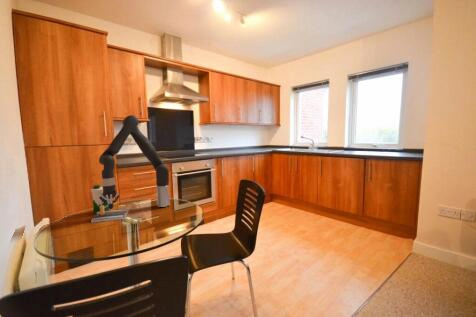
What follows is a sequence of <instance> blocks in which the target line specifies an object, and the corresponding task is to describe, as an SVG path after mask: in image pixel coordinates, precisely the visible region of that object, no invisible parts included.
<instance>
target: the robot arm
mask: <svg viewBox="0 0 476 317" xmlns="http://www.w3.org/2000/svg"><path fill="white" fill-rule="evenodd" d="M139 123H140V122H139V118H138V117H137V116H136V115H133V114H131V115H128V116H126V117H124V118H123V120H122V127H121V128H120V130H119V132H118V133H117V134H116V136H115V137H114V138H113V139H112V140H111V142H110V144H109V145H108V146H107V148H106V149H105V150H104V152H102V153H101V155H100V156H99V158H98V162H99V163H100V165H101V166H103V170H101V184H102V186H101V187H103V194H102V196H100V197H99V199H101V200H102V201H103V202H104V203H105V204H106V203H107V204H108V208H109V210H113V208H114V204H115V203H116V202H117V200H118V199H119V198H120V197H121V194H120V193H118V192H117V188H116V179H115V172H114V171H115V165H116V160H115V158H114V156H115V155H117V154H119V152H120V151H121V149H122V148H123V147H124V144H125V142H126V141H127V139H128V138H129V136H130V135H131V137H132V138H133V141H134V142H135V144H136V145H137V146H138V148H139V150H140V151H141V153H142V154H143V155H144V156H145V158H146V159H147V160H148V161H149V162H150V164H151V165H152V167H153V169H154V170H155V177H156V179H155V181H156V183H155V184H156V201H157V202H156V204H157V206H158V207H165V206H167V205H171V204H170V202H171V201H170V171H169V168H168V167H167V165H166V164H165V163H164V162H163V160H162V159H161V157H160V155H159V154H158V152H157V150H156V148H155V146H154V145H153V143H152V141H151V140H149V138H148V137H146V135H144V134H143V133H142V131H141V130H140V128H139V127H138V125H139ZM104 197H105V198H106V199H107V200H106V199H105V198H104ZM115 197H116V198H115ZM114 198H115V199H114ZM158 207H157V208H158Z"/></svg>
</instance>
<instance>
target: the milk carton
mask: <svg viewBox="0 0 476 317" xmlns="http://www.w3.org/2000/svg"><path fill="white" fill-rule="evenodd" d="M100 185H101V184H96V185H95V184H94V185H93V186H92V188H91V189H90V193H91V196H92V205H93V207H92V209H93V214H95V215H96V214H97V212H100V206H101V205H104V211H110V209H109V208H108V204H107V203H106V204H105V203H104V202H103V201H102V200H101V199H99V197H100V196H102V194H103V186H100ZM104 198H105V197H104ZM105 199H106V198H105ZM106 200H107V199H106Z"/></svg>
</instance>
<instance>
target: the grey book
mask: <svg viewBox="0 0 476 317" xmlns="http://www.w3.org/2000/svg"><path fill="white" fill-rule="evenodd" d="M127 210H128V209H127V208H125V209H116V210H115V209H114V210H113V209H112V210H109V211H104V213H116V212H126V211H127ZM97 214H100V212H97ZM123 216H124V214H117V215H107V216H97V217H95V216H93V217H92V218H91V220H92V219H93V220H98V219H108V218H118V217H123Z"/></svg>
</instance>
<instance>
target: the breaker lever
mask: <svg viewBox="0 0 476 317" xmlns="http://www.w3.org/2000/svg"><path fill="white" fill-rule="evenodd" d="M106 215H107V213H106V214H105V213H104V205H101V206H100V214H99V215H98V216H106Z"/></svg>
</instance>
